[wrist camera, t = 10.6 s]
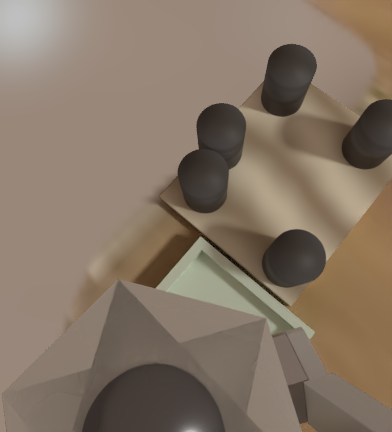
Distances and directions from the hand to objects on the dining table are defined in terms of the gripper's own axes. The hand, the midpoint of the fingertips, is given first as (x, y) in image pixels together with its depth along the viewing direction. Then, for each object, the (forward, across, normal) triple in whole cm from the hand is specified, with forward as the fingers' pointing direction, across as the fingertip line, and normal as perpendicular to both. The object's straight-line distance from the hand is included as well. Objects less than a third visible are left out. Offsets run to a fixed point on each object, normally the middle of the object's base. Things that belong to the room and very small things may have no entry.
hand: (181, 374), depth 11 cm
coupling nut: (+5, 0, -5) cm, 7 cm away
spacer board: (+23, +11, -7) cm, 26 cm away
